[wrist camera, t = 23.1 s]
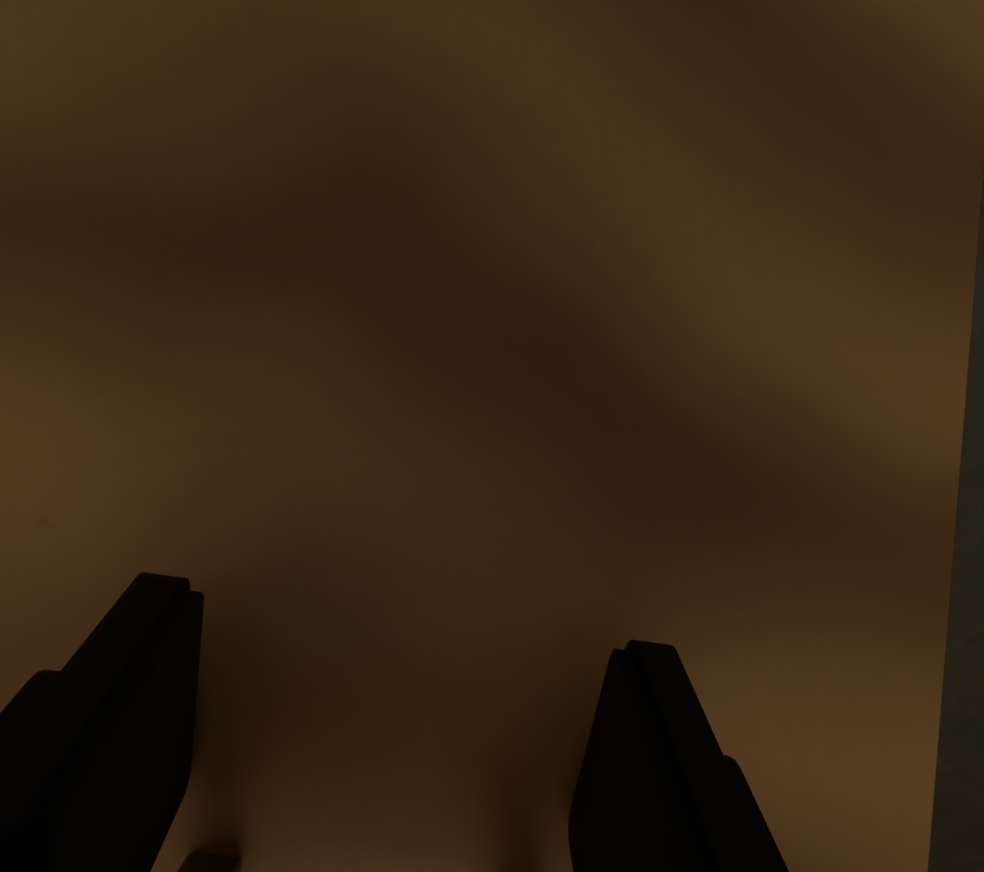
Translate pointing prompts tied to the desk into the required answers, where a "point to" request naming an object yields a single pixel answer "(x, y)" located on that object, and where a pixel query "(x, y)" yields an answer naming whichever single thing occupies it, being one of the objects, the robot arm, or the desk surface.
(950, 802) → the desk surface
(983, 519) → the desk surface
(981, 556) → the desk surface
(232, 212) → the lid
